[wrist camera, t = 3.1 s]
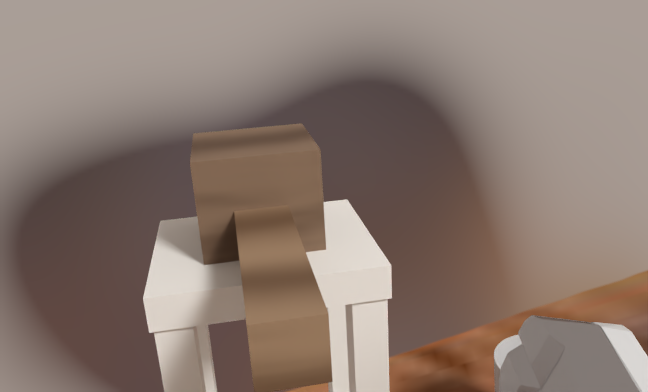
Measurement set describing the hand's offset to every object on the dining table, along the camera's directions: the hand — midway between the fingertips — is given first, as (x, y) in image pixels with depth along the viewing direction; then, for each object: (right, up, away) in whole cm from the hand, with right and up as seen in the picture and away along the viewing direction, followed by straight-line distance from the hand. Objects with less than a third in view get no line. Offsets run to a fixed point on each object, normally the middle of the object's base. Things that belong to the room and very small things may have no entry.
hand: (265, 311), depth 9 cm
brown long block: (-2, -2, +22) cm, 23 cm away
